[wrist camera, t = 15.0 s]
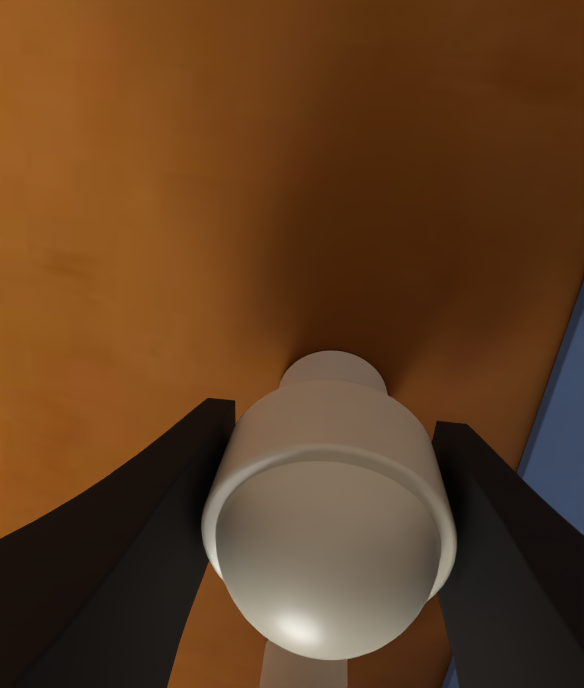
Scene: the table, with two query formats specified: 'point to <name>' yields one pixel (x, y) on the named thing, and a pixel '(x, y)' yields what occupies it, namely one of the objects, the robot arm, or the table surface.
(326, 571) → the cream mushroom
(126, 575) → the robot arm
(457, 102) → the table surface
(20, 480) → the table surface
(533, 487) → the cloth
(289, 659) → the brown mushroom
